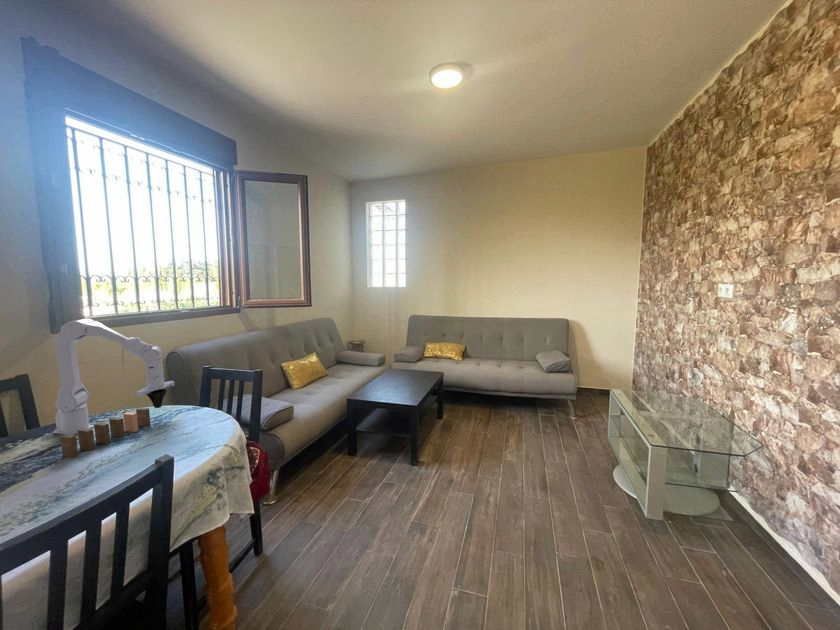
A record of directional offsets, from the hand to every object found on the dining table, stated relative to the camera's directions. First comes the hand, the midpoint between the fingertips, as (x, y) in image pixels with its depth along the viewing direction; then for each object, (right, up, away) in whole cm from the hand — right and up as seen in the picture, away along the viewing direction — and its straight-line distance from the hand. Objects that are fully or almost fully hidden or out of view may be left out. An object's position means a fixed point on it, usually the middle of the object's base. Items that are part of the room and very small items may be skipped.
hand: (157, 407), depth 141 cm
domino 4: (-4, -7, -15) cm, 17 cm away
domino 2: (-6, -8, -24) cm, 26 cm away
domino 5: (-1, -6, -5) cm, 8 cm away
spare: (-3, -6, -10) cm, 12 cm away
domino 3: (-5, -7, -19) cm, 21 cm away
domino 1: (-7, -9, -28) cm, 31 cm away
